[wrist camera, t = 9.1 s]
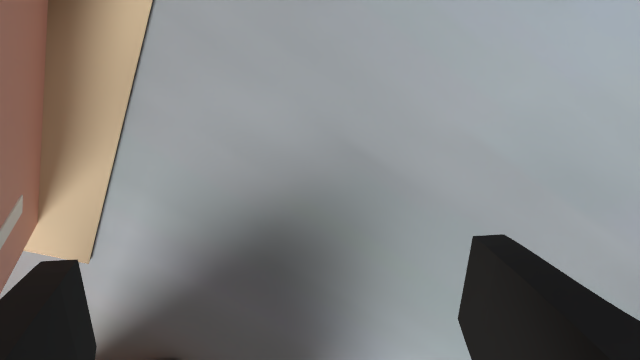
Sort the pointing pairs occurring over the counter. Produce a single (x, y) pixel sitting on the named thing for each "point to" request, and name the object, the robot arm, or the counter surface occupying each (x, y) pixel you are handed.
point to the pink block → (20, 124)
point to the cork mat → (83, 116)
